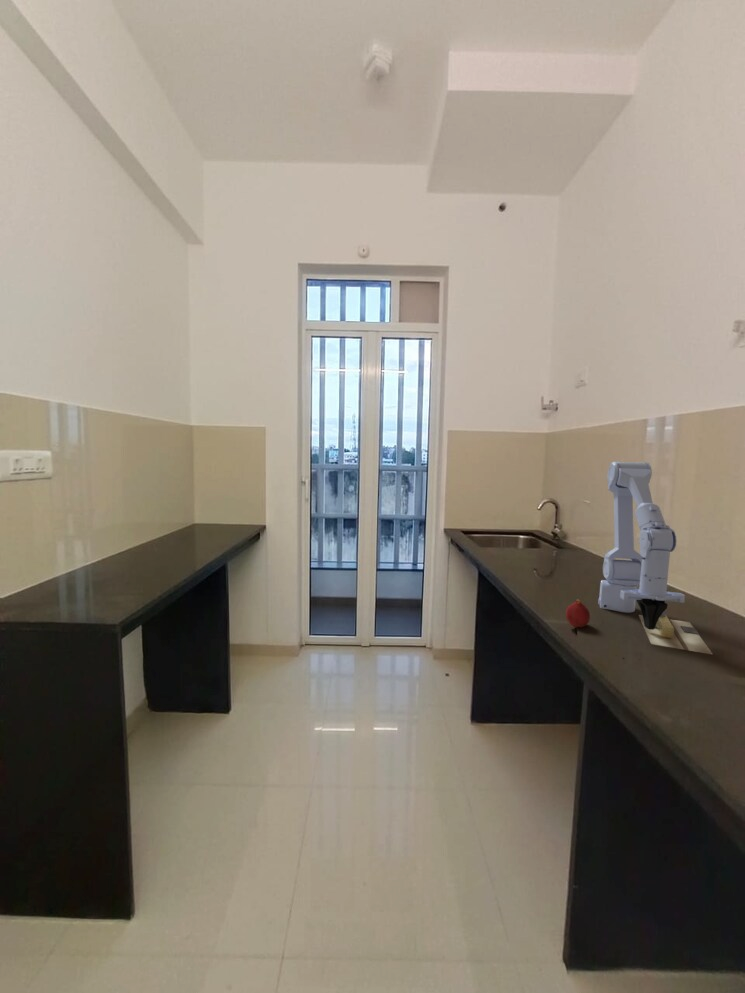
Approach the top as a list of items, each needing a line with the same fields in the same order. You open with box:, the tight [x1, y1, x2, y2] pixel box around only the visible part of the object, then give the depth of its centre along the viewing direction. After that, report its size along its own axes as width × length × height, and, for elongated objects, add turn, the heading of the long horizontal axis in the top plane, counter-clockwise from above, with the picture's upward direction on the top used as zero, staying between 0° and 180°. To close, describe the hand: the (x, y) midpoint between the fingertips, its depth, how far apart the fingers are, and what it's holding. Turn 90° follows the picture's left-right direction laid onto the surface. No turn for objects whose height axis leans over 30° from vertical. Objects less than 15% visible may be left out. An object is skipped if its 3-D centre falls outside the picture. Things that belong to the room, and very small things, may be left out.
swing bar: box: [656, 611, 674, 638], centre depth 111 cm, size 10×2×3 cm, turn 156°
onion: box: [565, 599, 591, 629], centre depth 114 cm, size 6×6×8 cm
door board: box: [638, 614, 714, 656], centre depth 111 cm, size 12×21×2 cm, turn 156°
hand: (649, 627), depth 110 cm, fingers closed
